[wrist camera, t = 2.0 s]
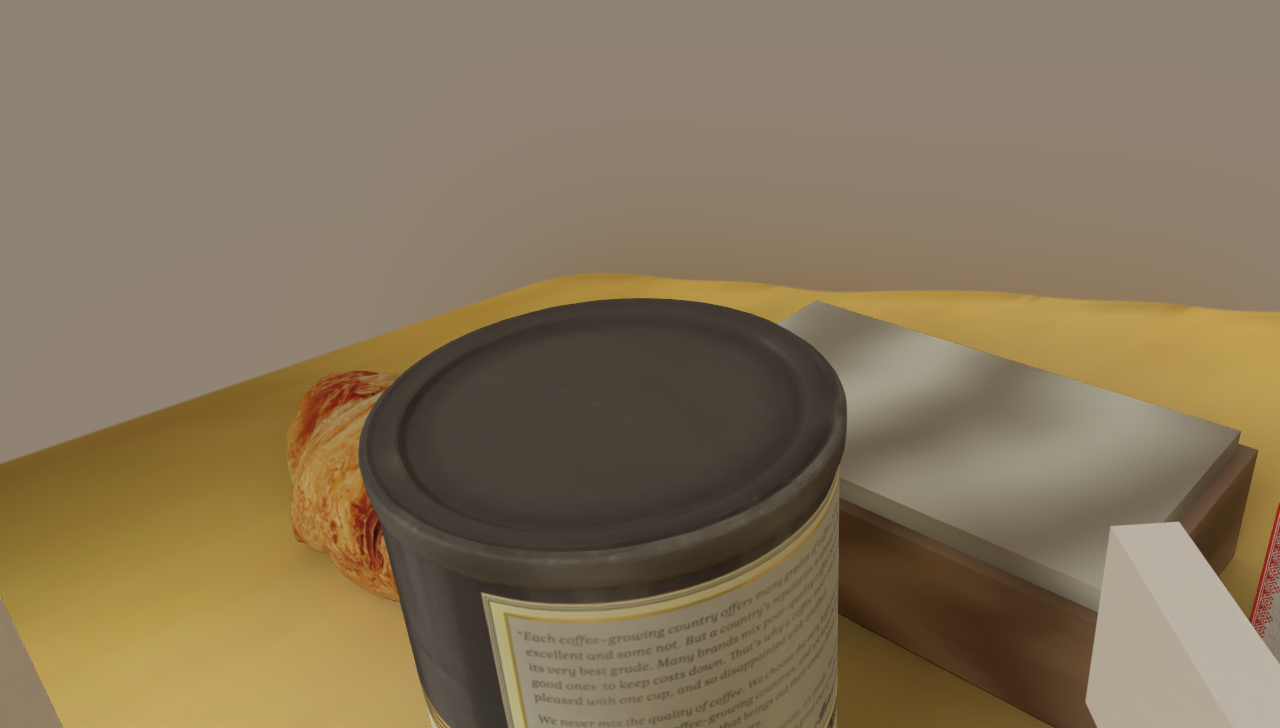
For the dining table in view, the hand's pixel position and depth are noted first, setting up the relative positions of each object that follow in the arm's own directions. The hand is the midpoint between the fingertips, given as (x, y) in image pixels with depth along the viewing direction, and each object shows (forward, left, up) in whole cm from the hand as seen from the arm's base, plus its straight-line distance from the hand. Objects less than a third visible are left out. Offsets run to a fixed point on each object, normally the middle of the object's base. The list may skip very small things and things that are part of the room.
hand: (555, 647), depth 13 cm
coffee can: (-7, +7, -17) cm, 20 cm away
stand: (-9, +23, -17) cm, 30 cm away
